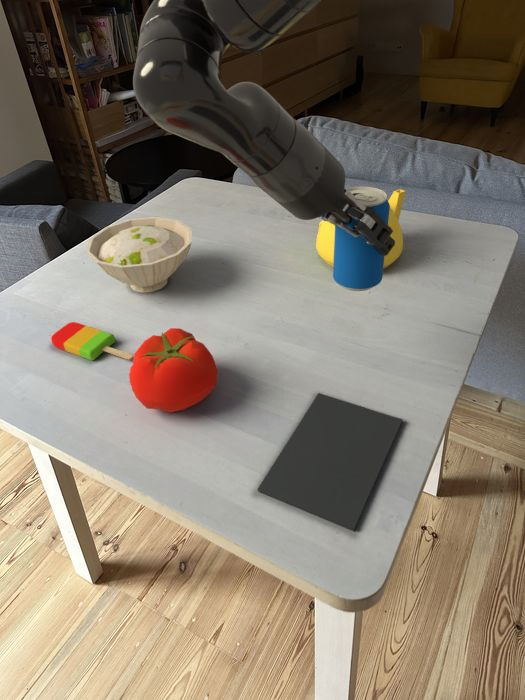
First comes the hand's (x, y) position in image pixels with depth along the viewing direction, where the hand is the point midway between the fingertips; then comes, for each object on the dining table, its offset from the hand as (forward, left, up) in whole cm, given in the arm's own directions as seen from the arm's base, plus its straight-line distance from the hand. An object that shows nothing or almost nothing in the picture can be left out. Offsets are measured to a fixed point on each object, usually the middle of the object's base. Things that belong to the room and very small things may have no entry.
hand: (369, 238), depth 69 cm
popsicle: (+36, -21, -20) cm, 46 cm away
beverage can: (+2, 0, -6) cm, 6 cm away
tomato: (+27, -5, -20) cm, 34 cm away
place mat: (+13, +15, -20) cm, 28 cm away
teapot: (-18, -28, -20) cm, 39 cm away
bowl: (+23, -37, -20) cm, 48 cm away
